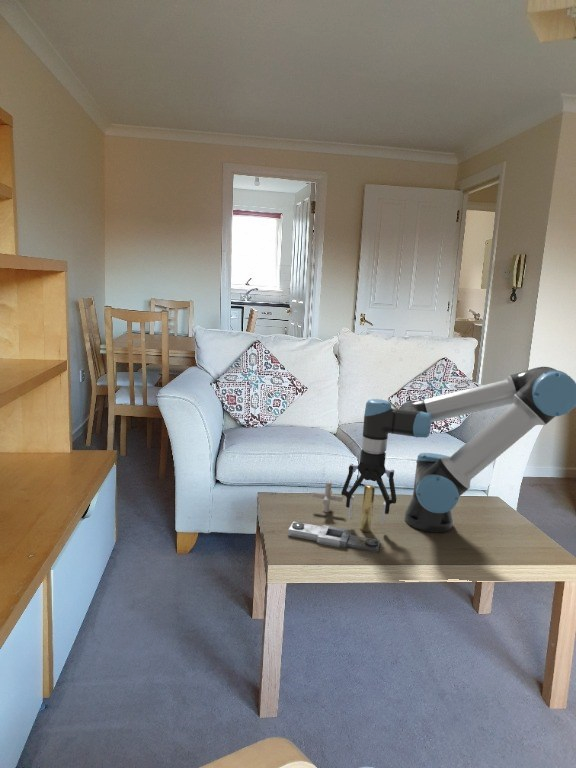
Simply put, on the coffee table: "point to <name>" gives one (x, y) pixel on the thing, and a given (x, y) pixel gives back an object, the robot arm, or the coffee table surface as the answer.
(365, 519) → the pin
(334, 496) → the pipe connector
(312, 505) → the coffee table surface
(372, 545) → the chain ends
